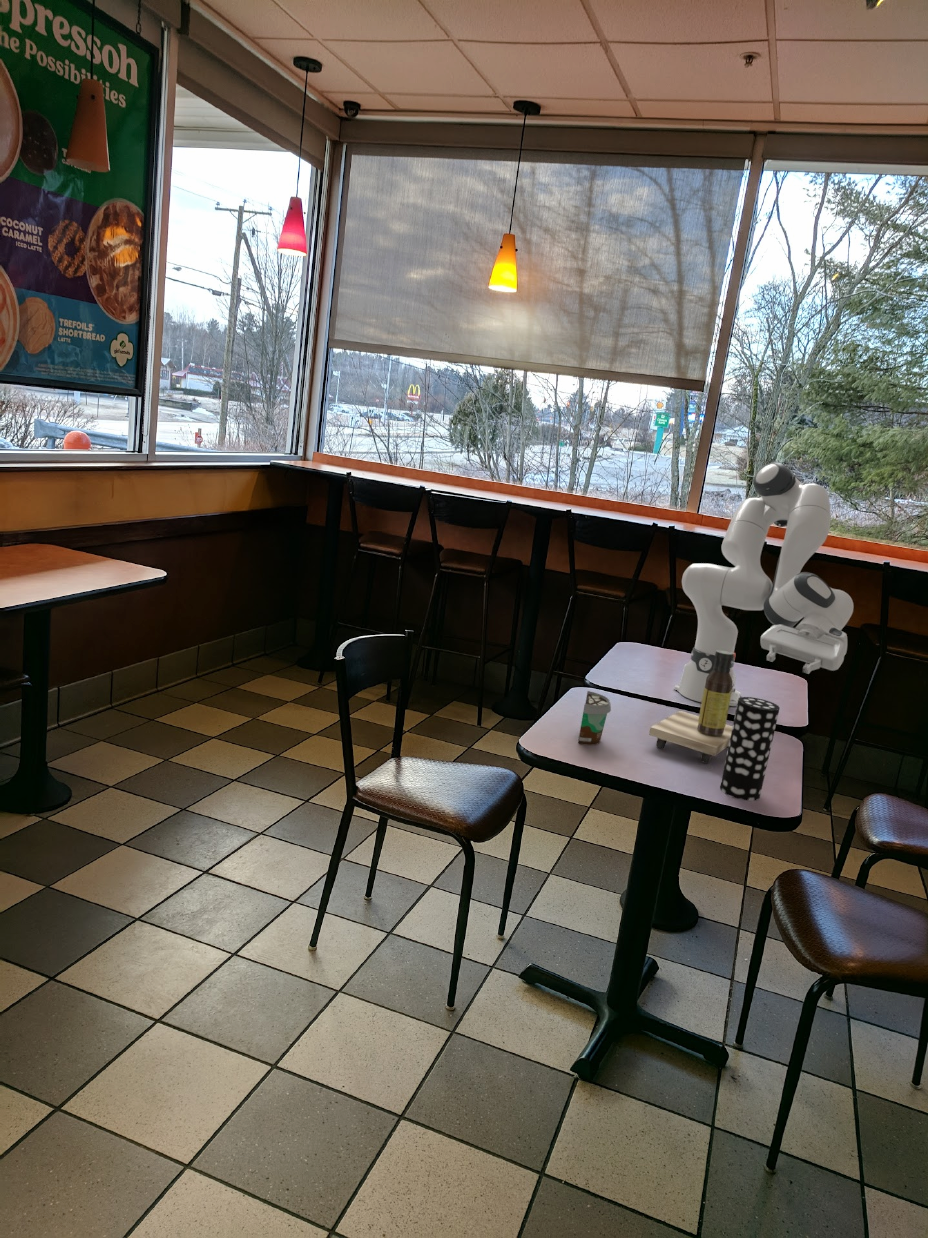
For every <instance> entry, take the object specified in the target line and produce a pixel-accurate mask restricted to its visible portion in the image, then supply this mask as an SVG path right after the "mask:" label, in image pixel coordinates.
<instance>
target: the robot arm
mask: <svg viewBox="0 0 928 1238" xmlns="http://www.w3.org/2000/svg"><path fill="white" fill-rule="evenodd" d="M752 483H753V487H754V489H755V491H756V493H757V494H758V495H759V496H760V497H748V498H746V499H744V500H743V501H742V502H741V503H740V504H739V505H738V507H737V509H736V510H735V512H734V514H733V515H732V518H731V520H730V522H729V524H728V527H727V530H726V532H725V535H724V538H723V540H722V544H721V553H722V555H723V557H724V558H725V559H726V560H727V561H728V562H729V563H731V564H732V565H733V566H734V567H729V566H723V565H719V564H718V565H717V564H714V563H706V562H705V563H704V562H703V563H702V562H701V563H692V564H690V565H689V566H688V567H687V568H686V569H685V570H684V572H683V574H682V578H681V586H682V587H681V588H682V590H683V592H684V593H685V595H686V596H687V597H688V598H689V599H690V601H691V602H692V605H693V606H694V609H695V611H696V615H697V631H696V638H695V639H696V640H695V644H694V647H692V650H691V653H690V655H691V656H690V660H689V662H687V663H685V665H683V670H682V675H681V678H680V681H679V684H676V685H674V687H673V690H675V691H676V690H677V692H679V694H680V695H681V696H683V697H685V698H687V699H689V700H692V701H696V702H699V703H702V698H703V692H704V687H705V683H706V678H707V676H708V675H709V673H710V672H712V671H713V666H714V663H715V653H716V651H717V650H723V651H728V652H731V653H733V659H732V661H731V667H730V672H729V674H730V676H731V678H732V682H733V683H732V692H731V697H730V702H729V707H737V704H738V699H739V698H741V697H742V696H741V695H742V693H741V692H740V691H739V690H737V689H736V687H735V686H736V681H737V676H736V673H735V670H734V668H733V667H734V665H735V660H736V652H735V648H736V644H737V638H738V633H739V630H738V628H737V625H736V624H735V622H734V621H732V620H731V619H730V618H729V617H727V615H725V613H724V612H723V609H722V608H723V607H722V606H724V607H730V608H734V609H738V610H739V609H740V610H743V611H764V615H765V616H766V618H767V620H768V622H770V624H772V625H771V626H770V628H768V629H767V630H766V631H764V632H763V633H762V634H761V636H760V642H759V643H760V646H761V649H763V650H766V651H769V652H768V654H767V655H766V661H769V662H772V663H773V662H774V661H775V660H776V654H779V655H781V656H782V655H783V656H785V657H788V658H791V659H795V660H798V661H801V662H804V663H805V664H804V665H803V667H802V673H805V674H808V675H809V674H810V673H811V672H812V671H815V670H819V669H820V668H822V669H826V670H827V671H831V672H832V671H833V672H834V671H837V670H839V668H840V667H841V665H842V664H843V663H844V660H845V655H846V654H847V651H848V636H847V635H848V634H847V633H846V632H844V631H842V630H843V628H844V627H846V625H847V624H848V623H849V621H850V618H851V617H852V615H853V613H854V602H853V599H852V597H851V596H850V595H849V593H847V592H845V591H844V590H841V589H836V588H832V587H831V586H829V584H828V583H827V581H825V580H824V579H823V578H821V577H820V576H818V575H817V574H815V573H812V572H808V571H802V569H803V567H804V566H805V564H806V563H807V562H808V561H809V559H810V558H811V557H812V556H813V555H814V554H815V553H816V552H817V551H818V550H819V548H821V547H822V546H823V544H824V543H825V542H826V541H827V539H828V538H827V537H828V535H829V532H830V528H831V515H832V514H831V513H832V510H831V502H830V496H829V493H828V491H827V489H825V487H823V486H822V485H820V484H817V483H814V482H813V483H806V484H803V483H802V482H801V481H800V480H799V479H798V478H797V477H796V476H795V474H794V473H793V471H791V470H790V469H789V468H788V467H787V466H786V465H784V464H782V463H780V462H770V463H767V464H765V465H763V466H761V467H760V468H759V469H758V471H757V472H756V473H755V475H754V477H753V481H752ZM772 524H774V525H775V526H777V527H779V528H783V527H786V530H785V535H784V539H783V541H782V545H781V548H780V551H779V553H780V554H779V557H778V560H777V564H776V569H775V572H774V578H773V582H772V580H771V578H770V577H769V576H768V575H767V574H766V573H765V571H764V569H763V568H762V565H761V556H762V551H763V547H764V545H765V542H766V541H765V540H766V538H767V536H768V533H769V530H770V527H771V526H772ZM801 571H802V572H801ZM796 624H797V625H796ZM795 625H796V626H795ZM794 626H795V627H794Z"/></svg>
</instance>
